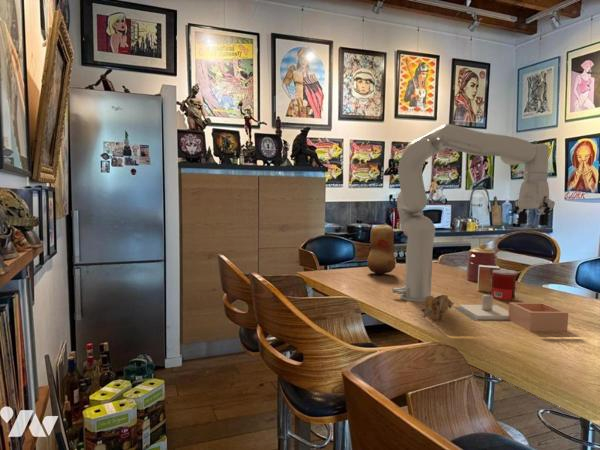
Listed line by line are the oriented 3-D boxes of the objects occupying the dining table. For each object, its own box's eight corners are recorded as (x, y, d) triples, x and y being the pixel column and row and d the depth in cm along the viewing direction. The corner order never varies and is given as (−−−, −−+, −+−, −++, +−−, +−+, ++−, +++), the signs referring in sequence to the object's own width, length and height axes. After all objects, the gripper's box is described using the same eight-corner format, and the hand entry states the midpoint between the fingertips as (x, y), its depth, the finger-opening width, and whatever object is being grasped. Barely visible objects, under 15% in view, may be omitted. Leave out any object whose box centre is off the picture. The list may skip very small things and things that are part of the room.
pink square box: (529, 333, 114) (530, 312, 114) (508, 321, 125) (509, 302, 125) (567, 333, 114) (568, 312, 114) (542, 321, 125) (543, 302, 125)
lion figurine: (454, 325, 120) (456, 296, 119) (439, 326, 119) (440, 296, 118) (428, 312, 134) (429, 285, 133) (413, 313, 133) (414, 286, 132)
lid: (476, 319, 125) (477, 300, 124) (458, 308, 138) (459, 290, 137) (517, 319, 125) (518, 300, 125) (495, 308, 138) (496, 291, 138)
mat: (474, 322, 123) (474, 320, 123) (452, 308, 139) (452, 306, 139) (525, 323, 124) (525, 321, 124) (497, 308, 140) (497, 307, 140)
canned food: (517, 303, 148) (518, 273, 148) (494, 301, 150) (495, 272, 149) (510, 298, 156) (512, 270, 155) (488, 296, 157) (490, 269, 157)
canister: (501, 283, 184) (503, 245, 183) (473, 283, 184) (474, 245, 183) (488, 278, 197) (490, 242, 196) (461, 277, 197) (463, 242, 196)
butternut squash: (366, 276, 196) (368, 225, 194) (366, 271, 209) (368, 223, 208) (395, 277, 194) (397, 226, 192) (393, 272, 207) (395, 224, 205)
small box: (477, 291, 167) (478, 266, 166) (477, 288, 172) (478, 264, 171) (499, 293, 164) (500, 267, 163) (497, 290, 169) (499, 265, 168)
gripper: (509, 179, 155) (506, 223, 156) (546, 176, 138) (543, 226, 139) (525, 179, 157) (523, 223, 158) (564, 177, 140) (560, 226, 141)
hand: (532, 224), depth 149 cm, fingers open, 9 cm apart
